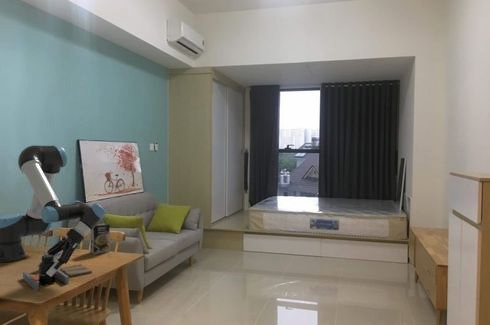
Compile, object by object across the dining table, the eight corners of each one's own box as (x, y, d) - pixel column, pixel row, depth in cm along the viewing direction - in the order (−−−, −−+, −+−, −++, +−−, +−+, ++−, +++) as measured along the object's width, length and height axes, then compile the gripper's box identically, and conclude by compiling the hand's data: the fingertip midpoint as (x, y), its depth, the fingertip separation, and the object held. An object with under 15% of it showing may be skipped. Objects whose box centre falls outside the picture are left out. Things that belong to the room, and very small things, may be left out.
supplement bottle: (37, 286, 169) (37, 258, 169) (40, 280, 176) (40, 254, 176) (54, 284, 171) (54, 257, 171) (57, 279, 178) (57, 253, 177)
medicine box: (51, 269, 192) (51, 252, 192) (43, 268, 193) (43, 251, 193) (62, 264, 200) (61, 248, 200) (54, 264, 201) (54, 247, 201)
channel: (23, 278, 179) (23, 272, 179) (54, 272, 188) (54, 266, 188) (35, 290, 164) (35, 283, 164) (68, 283, 173) (68, 276, 173)
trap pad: (29, 278, 179) (29, 277, 179) (50, 273, 186) (50, 273, 186) (32, 281, 175) (32, 280, 175) (54, 277, 181) (54, 276, 181)
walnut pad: (60, 270, 191) (60, 268, 191) (81, 266, 198) (81, 264, 198) (70, 277, 181) (70, 275, 181) (91, 272, 188) (91, 270, 188)
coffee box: (93, 254, 220) (93, 226, 219) (90, 252, 225) (90, 224, 224) (109, 252, 226) (109, 224, 225) (105, 249, 231) (105, 222, 230)
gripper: (94, 242, 175) (59, 283, 165) (74, 233, 193) (41, 269, 183) (82, 232, 171) (45, 273, 161) (63, 223, 189) (29, 260, 179)
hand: (43, 271), depth 172 cm, fingers open, 13 cm apart
